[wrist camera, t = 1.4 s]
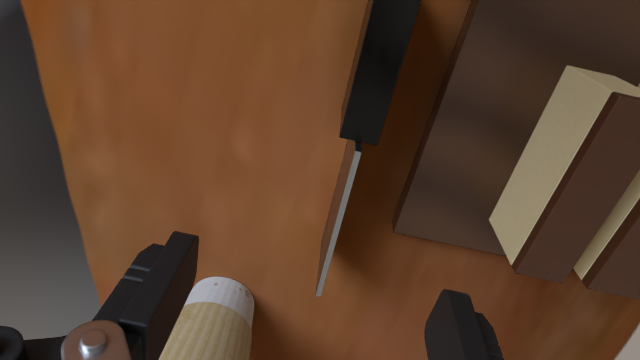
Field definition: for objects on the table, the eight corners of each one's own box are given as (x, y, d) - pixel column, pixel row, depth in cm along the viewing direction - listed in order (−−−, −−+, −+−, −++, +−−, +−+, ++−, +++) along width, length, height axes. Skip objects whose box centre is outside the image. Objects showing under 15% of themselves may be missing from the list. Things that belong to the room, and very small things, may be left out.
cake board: (489, -51, 24) (497, -51, 23) (778, 18, 25) (802, 22, 23) (391, 221, 34) (393, 232, 33) (599, 265, 35) (609, 278, 33)
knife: (374, -28, 25) (380, -21, 20) (413, -19, 25) (429, -9, 20) (310, 239, 36) (301, 293, 30) (337, 244, 36) (334, 300, 30)
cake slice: (566, 64, 26) (620, 95, 20) (615, 76, 26) (682, 109, 20) (488, 219, 32) (514, 273, 26) (528, 228, 32) (563, 283, 26)
